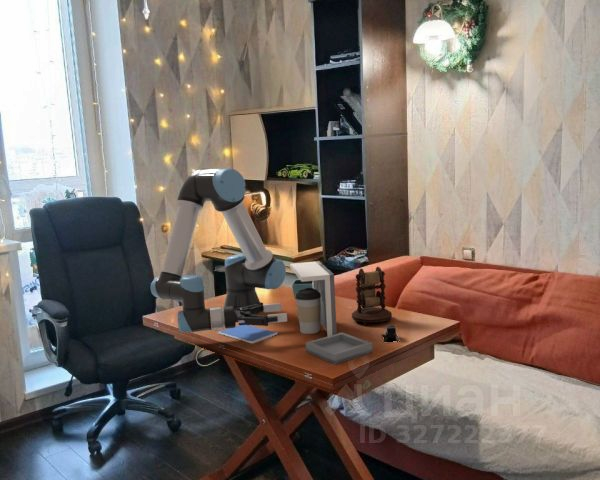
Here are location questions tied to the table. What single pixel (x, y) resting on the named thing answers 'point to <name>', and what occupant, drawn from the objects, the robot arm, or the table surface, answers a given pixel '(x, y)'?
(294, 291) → the flower pot
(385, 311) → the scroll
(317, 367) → the table surface
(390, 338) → the black angled block
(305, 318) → the coffee cup
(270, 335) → the blue piece
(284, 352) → the table surface
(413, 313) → the table surface
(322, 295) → the cubby
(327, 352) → the tray
